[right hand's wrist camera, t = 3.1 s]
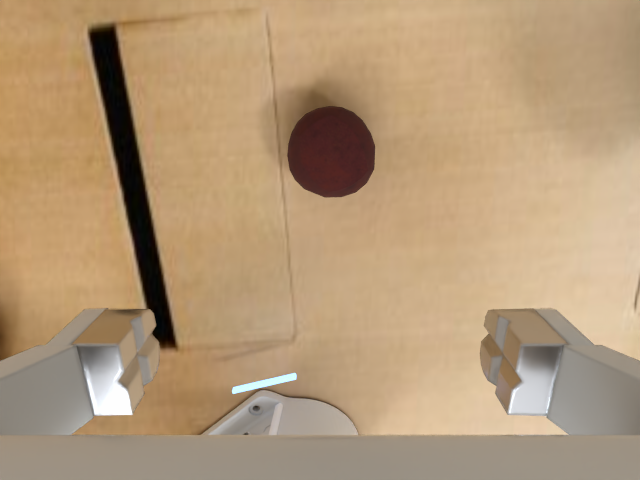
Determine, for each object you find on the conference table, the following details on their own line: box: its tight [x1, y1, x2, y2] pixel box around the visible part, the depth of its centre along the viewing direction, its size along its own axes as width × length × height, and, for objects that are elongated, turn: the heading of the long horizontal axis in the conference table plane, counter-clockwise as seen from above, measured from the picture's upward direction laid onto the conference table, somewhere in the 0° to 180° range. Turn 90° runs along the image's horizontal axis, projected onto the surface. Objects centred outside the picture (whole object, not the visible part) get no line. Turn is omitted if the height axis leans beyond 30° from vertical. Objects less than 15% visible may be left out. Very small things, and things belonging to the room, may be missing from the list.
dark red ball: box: [288, 106, 375, 197], centre depth 35 cm, size 7×8×7 cm
